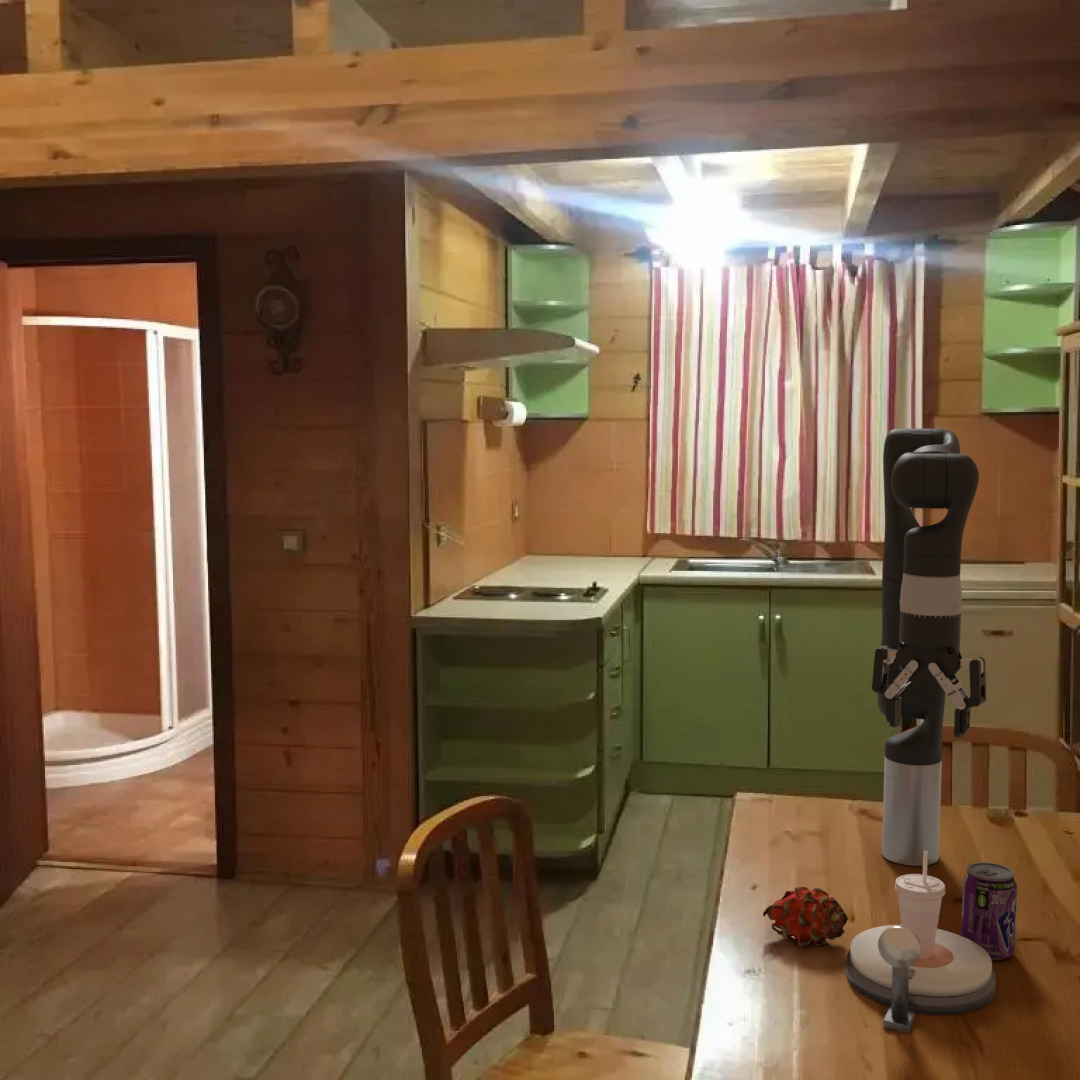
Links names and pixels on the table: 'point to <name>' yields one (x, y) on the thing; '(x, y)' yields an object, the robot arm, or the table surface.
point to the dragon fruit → (807, 916)
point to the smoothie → (921, 906)
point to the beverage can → (990, 908)
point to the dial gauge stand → (899, 973)
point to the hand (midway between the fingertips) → (926, 730)
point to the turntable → (927, 964)
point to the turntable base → (920, 1002)
